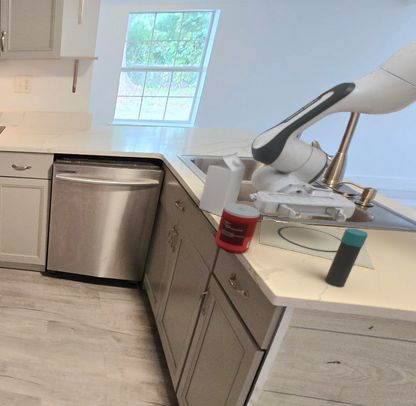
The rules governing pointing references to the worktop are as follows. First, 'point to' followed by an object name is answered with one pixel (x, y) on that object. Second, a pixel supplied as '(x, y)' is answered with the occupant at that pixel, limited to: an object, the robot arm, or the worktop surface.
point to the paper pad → (307, 240)
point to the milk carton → (222, 184)
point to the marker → (345, 256)
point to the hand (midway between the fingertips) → (319, 217)
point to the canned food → (236, 227)
